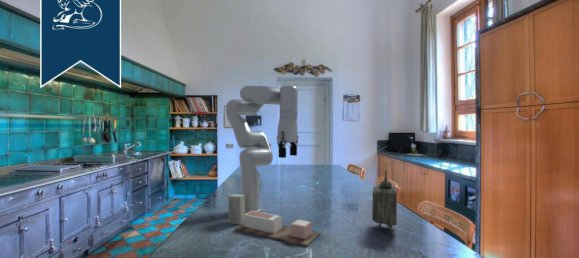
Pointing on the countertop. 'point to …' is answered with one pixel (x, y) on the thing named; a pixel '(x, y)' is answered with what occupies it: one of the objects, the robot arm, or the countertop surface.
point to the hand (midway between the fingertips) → (288, 156)
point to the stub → (301, 229)
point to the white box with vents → (263, 221)
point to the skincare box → (236, 208)
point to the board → (281, 235)
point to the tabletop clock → (385, 204)
